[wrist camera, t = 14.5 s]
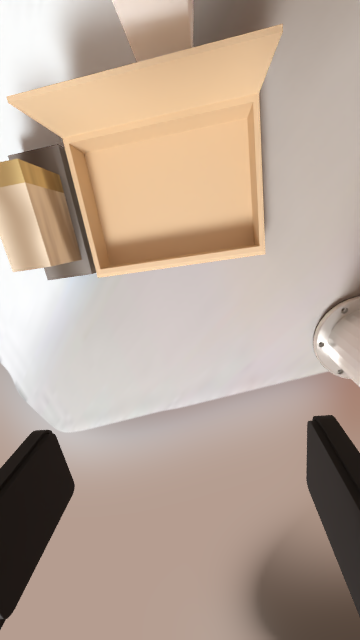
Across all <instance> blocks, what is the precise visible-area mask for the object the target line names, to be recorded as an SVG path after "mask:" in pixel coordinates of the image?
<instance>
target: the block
mask: <svg viewBox="0 0 360 640" xmlns="http://www.w3.org/2000/svg"><path fill="white" fill-rule="evenodd" d="M0 237H1V240H2V243H3V246H4V248H5V251H6V254H7V257H8V259H9V262H10V265H11V268H12V271H13V272H17V271H24V270H31V269H38V268H44V267H51V266H55V265H60V264H64V263H69V262H73V261H78V260H82V258H81V255H80V251H79V247H78V243H77V240H76V236H75V232H74V228H73V225H72V221H71V217H70V213H69V210H68V206H67V202H66V198H65V195H64V191H63V187H62V183H61V180H60V176H59V175H58V174H56V173H53V172H51V171H48V170H46V169H43V168H41V167H38V166H35V165H33V164H30V163H28V162H25V161H23V160H20V159H13V160H9V161H4V162H0Z"/></svg>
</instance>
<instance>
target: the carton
mask: <svg viewBox="0 0 360 640" xmlns="http://www.w3.org/2000/svg"><path fill="white" fill-rule="evenodd" d="M282 32H283V24H280V25H276V26H273V27H269V28H265V29H261V30H257V31H254V32H250V33H246V34H242V35H238V36H235V37H231V38H227V39H223V40H220V41H216V42H212V43H208V44H204V45H201V46H197V47H193V48H189V49H185V50H182V51H178V52H174V53H170V54H167V55H163V56H159V57H155V58H151V59H148V60H144V61H140V62H136V63H132V64H129V65H125V66H121V67H117V68H114V69H110V70H106V71H102V72H98V73H95V74H91V75H87V76H83V77H79V78H76V79H72V80H68V81H64V82H61V83H57V84H53V85H49V86H45V87H42V88H38V89H34V90H30V91H26V92H23V93H19V94H15V95H11V96H8V97H7V100H8V103H9V104H11V105H12V106H14V107H15V108H17V109H18V110H20V111H22V112H23V113H25V114H26V115H28V116H29V117H31V118H32V119H34V120H35V121H37V122H38V123H40V124H41V125H43V126H44V127H46V128H47V129H49V130H50V131H52V132H54V133H55V134H57V135H58V136H60V137H61V138H62V139H63V143H64V147H65V151H66V155H67V159H68V163H69V167H70V171H71V175H72V178H73V182H74V186H75V190H76V194H77V198H78V202H79V206H80V210H81V214H82V218H83V221H84V225H85V229H86V233H87V237H88V241H89V245H90V249H91V253H92V257H93V261H94V264H95V268H96V272H97V276H98V278H100V277H107V276H114V275H121V274H128V273H135V272H142V271H149V270H156V269H163V268H170V267H177V266H184V265H191V264H198V263H206V262H213V261H220V260H227V259H234V258H241V257H248V256H255V255H262V254H265V234H264V208H263V182H262V156H261V131H260V105H259V92H260V89H261V87H262V84H263V81H264V79H265V76H266V74H267V71H268V68H269V66H270V63H271V61H272V58H273V55H274V53H275V50H276V48H277V45H278V43H279V40H280V37H281V35H282Z"/></svg>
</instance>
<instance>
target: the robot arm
mask: <svg viewBox="0 0 360 640" xmlns="http://www.w3.org/2000/svg"><path fill="white" fill-rule="evenodd" d="M342 308H343V309H342ZM341 309H342V310H341ZM313 346H314V352H315V354H316V357H317V359H318V360H319V362H320V363H321V364H322V365H323V366H324V367H325V368H326V369H327V370H328V371H329V372H331V373H332V374H335V375H337V376H339V377H343V378H347V379H352V380H353V381H354V382H355V383H356V384H357V385H358V386H359V387H360V296H358V297H354V298H351V299H348V300H346V301H344V302H341V303H340V304H338V305H337V306H335V307H334V308H332V309H331V310H330V311H329V312H328V313H327V314H326V315H325V316H324V317H323V318H322V320H321V321H320V323H319V325H318V326H317V328H316V331H315V335H314V341H313ZM307 485H308V489H309V491H310V494H311V497H312V499H313V501H314V504H315V506H316V509H317V511H318V514H319V516H320V519H321V521H322V524H323V526H324V529H325V531H326V534H327V536H328V539H329V541H330V544H331V546H332V549H333V551H334V554H335V556H336V559H337V561H338V564H339V566H340V569H341V571H342V574H343V576H344V579H345V581H346V584H347V586H348V588H349V591H350V594H351V596H352V599H353V601H354V603H355V606H356V609H357V611H358V614H359V616H360V453H359V451H358V450H357V449H356V447H355V446H354V444H353V443H352V441H351V440H350V439H349V437H348V436H347V434H346V433H345V431H344V430H343V428H342V427H341V426H340V424H339V423H338V421H337V420H336V419H335V417H334V416H332V415H326V416H314V417H313V420H312V421H308V425H307ZM73 491H74V481H73V479H72V476H71V474H70V471H69V468H68V466H67V463H66V461H65V458H64V455H63V453H62V450H61V448H60V445H59V443H58V440H57V437H56V435H55V434H53V433H52V431H50V430H37V431H33V432H32V433H31V434H30V435H29V436H28V437H27V438H26V440H25V441H24V442H23V443H22V444H21V445H20V446H19V448H18V449H17V450H16V451H15V452H14V454H13V455H12V456H11V457H10V458H9V459H8V460H7V462H6V463H5V464H4V465H3V466H2V467H1V468H0V629H1V627H2V625H3V623H4V622H5V620H6V619H7V618H8V617H9V616H10V615H11V614H12V613H13V611H14V609H15V607H16V605H17V603H18V601H19V599H20V597H21V595H22V593H23V591H24V590H25V587H26V586H27V584H28V582H29V580H30V577H31V576H32V573H33V572H34V570H35V567H36V566H37V564H38V562H39V560H40V558H41V556H42V554H43V552H44V550H45V548H46V546H47V544H48V542H49V540H50V538H51V536H52V534H53V532H54V530H55V528H56V526H57V524H58V522H59V520H60V518H61V516H62V514H63V512H64V510H65V508H66V507H67V504H68V503H69V501H70V499H71V497H72V495H73Z"/></svg>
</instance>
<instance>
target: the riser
mask: <svg viewBox="0 0 360 640" xmlns="http://www.w3.org/2000/svg"><path fill="white" fill-rule="evenodd" d="M8 157H9V160H13V159H20V160H23V161H25V162H28V163H30V164H33V165H35V166H38V167H41V168H43V169H46V170H48V171H51V172H53V173H56V174H58V175H59V176H60V180H61V183H62V187H63V191H64V195H65V198H66V202H67V206H68V210H69V213H70V217H71V221H72V225H73V228H74V232H75V236H76V240H77V243H78V247H79V251H80V255H81V258H82V260H78V261H73V262H69V263H64V264H60V265H55V266H51V267H44V269H45V273H46V276H47V279H48V280H53V279H60V278H67V277H74V276H81V275H88V274H93V273H96V268H95V264H94V261H93V257H92V253H91V249H90V245H89V241H88V237H87V233H86V229H85V225H84V221H83V218H82V214H81V210H80V206H79V202H78V198H77V194H76V190H75V186H74V182H73V178H72V175H71V171H70V167H69V163H68V159H67V155H66V151H65V148H63V147H62V146H60V145H53V146H49V147H44V148H40V149H36V150H31V151H27V152H22V153H18V154H13V155H9V156H8Z"/></svg>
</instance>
